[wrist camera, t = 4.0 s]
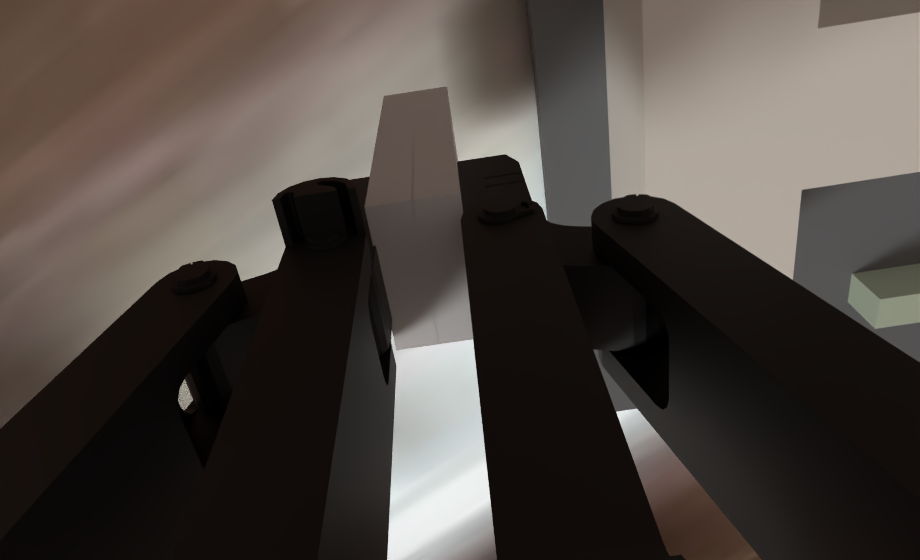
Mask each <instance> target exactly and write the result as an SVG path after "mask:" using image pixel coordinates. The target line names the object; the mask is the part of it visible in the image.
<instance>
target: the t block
mask: <svg viewBox="0 0 920 560" xmlns="http://www.w3.org/2000/svg"><path fill="white" fill-rule="evenodd" d="M603 10H604V33H605V55H606V78H607V101H608V124H609V146H610V169H611V192H612V199H615V198H621V197H625V196H626V195H632V194H636V196H638V195H639V194H647V195H649V196H652V197H658V198H664V199H666V200H668V201H671V202H673V203H675V204H677V205H678V206H680V207H681V208H683V209H684V210H686V211H688V212H689V213H691V214H692V215H694V216H695V217H697V218H698V219H700V220H701V221H703V222H704V223H706V224H707V225H709V226H711V227H712V228H714V229H715V230H717V231H718V232H720V233H721V234H723V235H724V236H726V237H727V238H729V239H731V240H732V241H734V242H735V243H737V244H738V245H740V246H741V247H743V248H744V249H746V250H747V251H749V252H751V253H752V254H754V255H755V256H757V257H758V258H760V259H761V260H763V261H764V262H766V263H767V264H769V265H771V266H772V267H774V268H775V269H777V270H778V271H780V272H781V273H783V274H784V275H786V276H787V277H789V278H791V279H792V280H793V273H794V263H795V253H796V243H797V233H798V223H799V213H800V203H801V193H802V190H804V189H811V188H817V187H824V186H831V185H837V184H844V183H850V182H857V181H863V180H870V179H876V178H883V177H889V176H896V175H902V174H909V173H915V172H920V0H603Z"/></svg>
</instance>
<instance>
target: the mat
mask: <svg viewBox="0 0 920 560" xmlns="http://www.w3.org/2000/svg"><path fill="white" fill-rule="evenodd" d="M527 7H528V18H529V29H530V39H531V50H532V61H533V71H534V82H535V92H536V103H537V114H538V124H539V135H540V145H541V156H542V167H543V177H544V188H545V199H546V209H547V220H548V221H549V222H551V223H554V224H560V225H565V226H591V215H592V212H593V210H594V209H595V208H596V207H598V206H599V205H600V204H602V203H604V202H607V201H610V200H612V192H611V169H610V146H609V124H608V101H607V78H606V55H605V33H604V10H603V0H527ZM919 263H920V172H915V173H909V174H902V175H896V176H889V177H883V178H876V179H870V180H863V181H857V182H850V183H844V184H837V185H831V186H824V187H817V188H811V189H804V190H802V193H801V203H800V213H799V223H798V233H797V243H796V253H795V263H794V273H793V280H794V281H795V282H797V283H798V284H800V285H801V286H803V287H804V288H806V289H807V290H809V291H811V292H812V293H814V294H815V295H817V296H818V297H820V298H821V299H823V300H824V301H826V302H827V303H829V304H831V305H832V306H834V307H835V308H837V309H838V310H840V311H841V312H843V313H844V314H846V315H847V316H849V317H851V318H852V319H854V320H855V321H857V322H858V323H860V324H861V325H863V326H864V327H866V328H867V329H869V330H871V331H872V332H874V333H875V334H877V335H878V336H880V337H881V338H883V339H884V340H886V341H887V342H889V343H890V344H892V345H894V346H895V347H897V348H898V349H900V350H901V351H903V352H904V353H906V354H907V355H909V356H910V357H912V358H914V359H915V360H917V361H918V362H920V322H919V323H912V324H905V325H898V326H891V327H885V328H878V329H875V328H874V327H873V326H872V325H871V324H870V323H869V322H867V321H866V320H865V319H864V318H863V317H862V316H861V315H860V314H859V313H858V312H857V311H856V310H855V309H854V308H853V307H852V306H851V305H850V304H849V303H848V296H849V289H850V282H851V275H852V273H859V272H866V271H872V270H879V269H886V268H893V267H899V266H906V265H913V264H919ZM593 350H594V349H593ZM594 353H595V356H596V358H597V361H598V364H599V367H600V370H601V372H602V375H603V378H604V381H605V383H606V386H607V389H608V392H609V394H610V397H611V400H612V403H613V405H614V408H615V411H622V410H629V409H636V408H637V407H636V406H635V405H634V404H633V403H632V401H631V400H630V399H629V398H628V397H627V395H626V394H625V393H624V392H623V390H622V389H621V388H620V387H619V386H618V384H617V383H616V382H615V381H614V380H613V378H612V377H611V376H610V375H609V374H608V372H607V371H606V370H605V369H604V367H603V366H602V364H601V362H600V360H599V357H598V350H594Z"/></svg>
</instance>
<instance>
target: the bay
mask: <svg viewBox="0 0 920 560" xmlns="http://www.w3.org/2000/svg"><path fill="white" fill-rule="evenodd" d="M848 303H849V304H850V305H851V306H852V307H853V308H854V309H855V310H856V311H857V312H858V313H859V314H860V315H861V316H862V317H863V318H864V319H865V320H866V321H867V322H869V323H870V324H871V325H872V326H873V327H874V328H875V329H878V328H885V327H891V326H898V325H905V324H912V323H919V322H920V263H919V264H913V265H906V266H899V267H893V268H886V269H879V270H872V271H866V272H859V273H852V275H851V282H850V289H849V296H848Z"/></svg>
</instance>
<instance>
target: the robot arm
mask: <svg viewBox="0 0 920 560" xmlns="http://www.w3.org/2000/svg"><path fill="white" fill-rule="evenodd" d="M272 202H273V205H274V209H275V212H276V215H277V219H278V222H279V226H280V229H281V232H282V236H283V239H284V243H285V246H286V248H285V250H284V253H283V256H282V258H281V261H280V264H279V267H278V269H277V270H275V271H272V272H270V273H267V274H264V275H261V276H258V277H254V278H251V279H248V280H245V281H241V280H240V277H239V274H238V271H237V268H236V265H234V264H232V263H230V262H228V261H218V260H213V261H205V262H204V261H197V262H192V263H193V264H191V263H189V264H186V265H183V266H181V267H180V268H179V269H178V270H176V271H174V272H171V273H169V274H168V275H166V276H165V277H163V278H162V279H161V280H159V281H158V282H157V283H155V284H154V285H153V286H152V287H151V288H150V289H149V290H148V291H147V292H146V293H145V294H144V295H143V296H142V297H141V298H139V299H138V300H137V301H136V302H135V303H134V304H133V305H132V306H131V307H130V308H129V309H128V310H127V311H126V312H125V313H123V314H122V315H121V316H120V317H119V318H118V319H117V320H116V321H115V322H114V323H113V324H112V325H111V326H110V327H109V328H107V329H106V330H105V331H104V332H103V333H102V334H101V335H100V336H99V337H98V338H97V339H96V340H95V341H94V342H93V343H91V344H90V345H89V346H88V347H87V348H86V349H85V350H84V351H83V352H82V353H81V354H80V355H79V356H78V357H77V358H75V359H74V360H73V361H72V362H71V363H70V364H69V365H68V366H67V367H66V368H65V369H64V370H63V371H62V372H60V373H59V374H58V375H57V376H56V377H55V378H54V379H53V380H52V381H51V382H50V383H49V384H48V385H47V386H46V387H44V388H43V389H42V390H41V391H40V392H39V393H38V394H37V395H36V396H35V397H34V398H33V399H32V400H31V401H30V402H28V403H27V404H26V405H25V406H24V407H23V408H22V409H21V410H20V411H19V412H18V413H17V414H16V415H15V416H14V417H12V418H11V419H10V420H9V421H8V422H7V423H6V424H5V425H4V426H3V427H2V428H1V429H0V560H387V550H388V529H389V508H390V487H391V466H392V445H393V424H394V403H395V382H396V363H395V358H394V354H393V350H392V345H391V330H392V332H393V336H394V341H395V345H396V350H400V349H407V348H414V347H421V346H428V345H435V344H442V343H449V342H456V341H463V340H470V339H473V341H474V350H475V360H476V369H477V378H478V387H479V397H480V406H481V415H482V424H483V434H484V443H485V452H486V462H487V471H488V480H489V489H490V499H491V508H492V517H493V526H494V536H495V545H496V554H497V560H685V559H684V558H683V556H682V555H676V556H670V555H669V554H668V553H667V550H666V548H665V546H664V543H663V541H662V538H661V535H660V533H659V530H658V527H657V524H656V522H655V519H654V516H653V513H652V510H651V508H650V505H649V502H648V499H647V497H646V494H645V491H644V488H643V486H642V483H641V480H640V477H639V475H638V472H637V469H636V466H635V463H634V461H633V458H632V455H631V452H630V450H629V447H628V444H627V441H626V439H625V436H624V433H623V430H622V428H621V425H620V422H619V419H618V417H617V414H616V411H615V408H614V405H613V403H612V400H611V397H610V394H609V392H608V389H607V386H606V383H605V381H604V378H603V375H602V372H601V370H600V367H599V364H598V361H597V358H596V356H595V353H594V350H598V357H599V360H600V362H601V364H602V366H603V367H604V369H605V370H606V371H607V372H608V374H609V375H610V376H611V377H612V378H613V380H614V381H615V382H616V383H617V384H618V386H619V387H620V388H621V389H622V390H623V392H624V393H625V394H626V395H627V397H628V398H629V399H630V400H631V401H632V403H633V404H634V405H635V406H636V407H637V409H638V410H639V411H640V412H641V414H642V415H643V416H644V417H645V418H646V420H647V421H648V422H649V423H650V424H651V426H652V427H653V428H654V429H655V430H656V432H657V433H658V434H659V435H660V437H661V438H662V439H663V440H664V441H665V443H666V444H667V445H668V446H669V447H670V449H671V450H672V451H673V452H674V454H675V455H676V456H677V457H678V458H679V460H680V461H681V462H682V463H683V464H684V466H685V467H686V468H687V469H688V470H689V472H690V473H691V474H692V475H693V477H694V478H695V479H696V480H697V481H698V483H699V484H700V485H701V486H702V487H703V489H704V490H705V491H706V492H707V494H708V495H709V496H710V497H711V498H712V500H713V501H714V502H715V503H716V504H717V506H718V507H719V508H720V509H721V510H722V512H723V513H724V514H725V515H726V517H727V518H728V519H729V520H730V521H731V523H732V524H733V525H734V526H735V527H736V529H737V530H738V531H739V532H740V534H741V535H742V536H743V537H744V538H745V540H746V541H747V542H748V543H749V544H750V546H751V547H752V548H753V549H754V550H755V552H756V553H757V554H758V555H759V557H760V558H761V559H762V560H920V362H918V361H917V360H915V359H914V358H912V357H910V356H909V355H907V354H906V353H904V352H903V351H901V350H900V349H898V348H897V347H895V346H894V345H892V344H890V343H889V342H887V341H886V340H884V339H883V338H881V337H880V336H878V335H877V334H875V333H874V332H872V331H871V330H869V329H867V328H866V327H864V326H863V325H861V324H860V323H858V322H857V321H855V320H854V319H852V318H851V317H849V316H847V315H846V314H844V313H843V312H841V311H840V310H838V309H837V308H835V307H834V306H832V305H831V304H829V303H827V302H826V301H824V300H823V299H821V298H820V297H818V296H817V295H815V294H814V293H812V292H811V291H809V290H807V289H806V288H804V287H803V286H801V285H800V284H798V283H797V282H795V281H794V280H792V279H791V278H789V277H787V276H786V275H784V274H783V273H781V272H780V271H778V270H777V269H775V268H774V267H772V266H771V265H769V264H767V263H766V262H764V261H763V260H761V259H760V258H758V257H757V256H755V255H754V254H752V253H751V252H749V251H747V250H746V249H744V248H743V247H741V246H740V245H738V244H737V243H735V242H734V241H732V240H731V239H729V238H727V237H726V236H724V235H723V234H721V233H720V232H718V231H717V230H715V229H714V228H712V227H711V226H709V225H707V224H706V223H704V222H703V221H701V220H700V219H698V218H697V217H695V216H694V215H692V214H691V213H689V212H688V211H686V210H684V209H683V208H681V207H680V206H678V205H677V204H675V203H673V202H671V201H668V200H666V199H664V198H658V197H652V196H649V195H647V194H639V195H638V196H636V194H632V195H626V196H625V197H621V198H615V199H612V200H610V201H607V202H604V203H602V204H600V205H599V206H598V207H596V208H595V209H594V210H593V212H592V215H591V226H565V225H560V224H554V223H551V222H549V221H547V220H546V218H545V215H544V212H543V209H542V208H541V206H540V205H539V204H538V203H537V202H534V201H532V199H531V197H530V194H529V191H528V188H527V185H526V182H525V179H524V176H523V174H522V170H521V168H520V165H519V162H518V161H516V160H514V159H513V158H511V157H509V156H507V155H498V156H492V157H485V158H478V159H472V160H465V161H458V158H457V152H456V145H455V138H454V132H453V125H452V118H451V111H450V105H449V98H448V91H447V87H440V88H434V89H427V90H421V91H414V92H408V93H401V94H395V95H388V96H384V99H383V105H382V110H381V116H380V122H379V127H378V133H377V139H376V144H375V150H374V156H373V162H372V167H371V173H370V177H365V178H358V179H352V180H348V179H346V178H336V177H331V178H319V179H314V180H310V181H305V182H302V183H299V184H296V185H293V186H291V187H288V188H287V189H285V190H283V191H281V192H280V193H278V194H277V195H276V196H275V197H274V198H273V200H272ZM593 349H594V350H593ZM184 379H185V381H186V383H187V386H188V388H189V390H190V393H191V395H192V398H193V401H192V402H191V404H190V405H189V406H188V407H187V409H185V410H184V411H183V409H182V408H181V407H180V405H179V403H178V395H179V389H180V387H181V385H182V383H183V381H184Z"/></svg>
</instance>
